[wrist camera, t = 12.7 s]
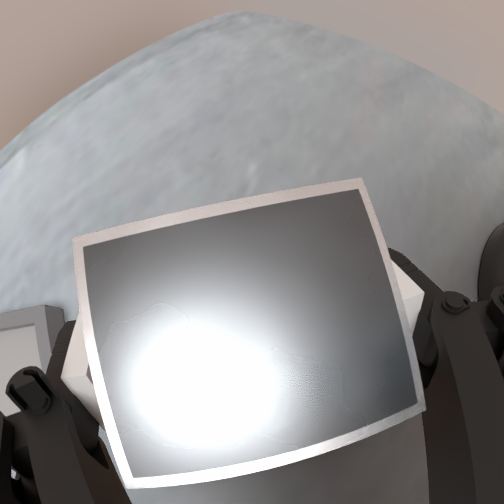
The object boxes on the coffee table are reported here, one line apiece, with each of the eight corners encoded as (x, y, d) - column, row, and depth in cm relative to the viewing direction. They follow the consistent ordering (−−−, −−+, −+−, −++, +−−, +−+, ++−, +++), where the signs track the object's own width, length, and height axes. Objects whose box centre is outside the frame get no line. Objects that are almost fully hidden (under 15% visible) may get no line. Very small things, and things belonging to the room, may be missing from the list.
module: (278, 283, 19) (368, 167, 6) (300, 368, 17) (437, 412, 5) (175, 306, 18) (63, 231, 5) (195, 392, 17) (120, 496, 4)
